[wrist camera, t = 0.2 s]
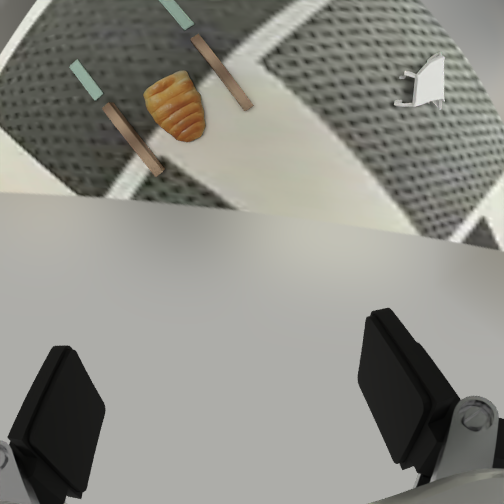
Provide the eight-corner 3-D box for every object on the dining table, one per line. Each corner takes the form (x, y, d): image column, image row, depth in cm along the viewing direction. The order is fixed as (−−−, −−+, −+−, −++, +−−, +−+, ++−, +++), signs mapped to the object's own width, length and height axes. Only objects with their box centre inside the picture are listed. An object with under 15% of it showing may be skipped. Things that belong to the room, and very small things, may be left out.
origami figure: (427, 125, 42) (446, 129, 38) (385, 103, 40) (402, 104, 36) (444, 61, 38) (463, 60, 33) (404, 36, 36) (421, 31, 31)
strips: (70, 67, 34) (69, 66, 33) (165, -9, 31) (165, -10, 31) (96, 100, 36) (94, 100, 36) (194, 24, 34) (193, 23, 33)
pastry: (218, 126, 40) (218, 127, 37) (174, 151, 41) (170, 155, 38) (184, 67, 36) (181, 63, 33) (140, 94, 37) (133, 92, 34)
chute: (106, 108, 37) (101, 108, 35) (199, 37, 35) (198, 33, 33) (158, 174, 42) (155, 177, 40) (252, 106, 39) (253, 105, 37)
